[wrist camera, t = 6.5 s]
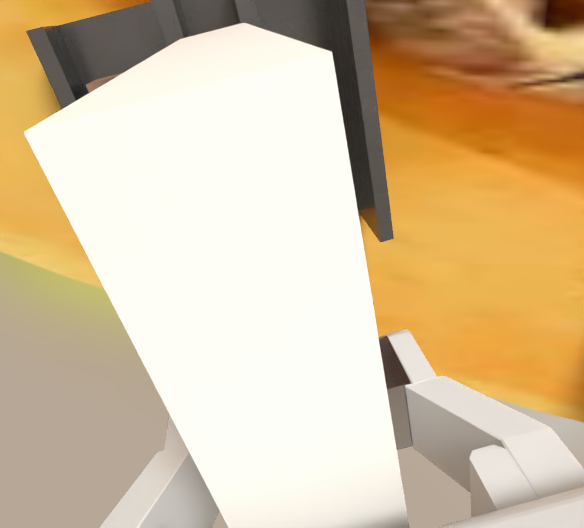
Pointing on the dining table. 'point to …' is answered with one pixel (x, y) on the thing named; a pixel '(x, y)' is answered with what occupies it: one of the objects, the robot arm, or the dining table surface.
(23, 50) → the dining table surface
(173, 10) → the rack
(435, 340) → the dining table surface
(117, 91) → the tall sheet
